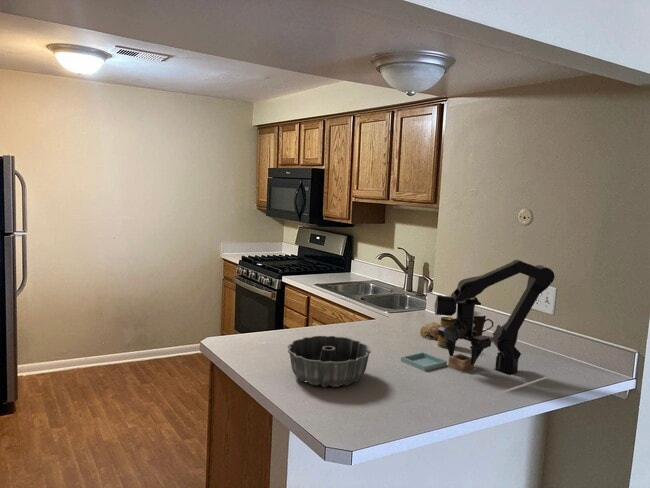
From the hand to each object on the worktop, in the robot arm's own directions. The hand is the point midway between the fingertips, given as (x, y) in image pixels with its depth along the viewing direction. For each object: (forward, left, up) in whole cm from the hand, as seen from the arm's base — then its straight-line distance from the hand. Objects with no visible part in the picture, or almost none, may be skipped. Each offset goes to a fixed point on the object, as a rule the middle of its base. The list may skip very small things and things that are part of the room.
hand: (461, 360), depth 180 cm
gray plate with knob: (0, 0, -3) cm, 3 cm away
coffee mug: (+22, -37, -3) cm, 43 cm away
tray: (+10, +9, -3) cm, 13 cm away
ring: (0, 0, -2) cm, 3 cm away
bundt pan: (+17, +45, -4) cm, 48 cm away
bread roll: (+32, -21, -4) cm, 39 cm away
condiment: (+18, -14, -3) cm, 23 cm away
